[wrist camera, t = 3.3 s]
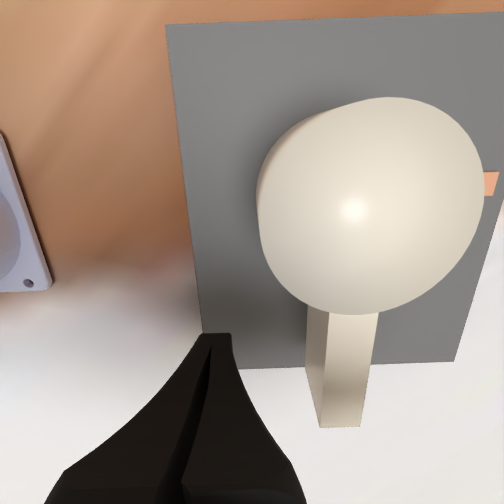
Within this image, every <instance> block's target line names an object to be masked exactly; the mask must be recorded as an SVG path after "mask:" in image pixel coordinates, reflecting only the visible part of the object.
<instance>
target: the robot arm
mask: <svg viewBox="0 0 504 504" xmlns="http://www.w3.org/2000/svg"><path fill="white" fill-rule="evenodd" d="M29 279H30V280H31V281H32V282H33V283H34V284H32V283H31V282H30V281H29ZM51 284H52V279H51V276H50V273H49V270H48V267H47V264H46V261H45V258H44V255H43V252H42V249H41V247H40V244H39V241H38V238H37V235H36V232H35V229H34V226H33V223H32V220H31V217H30V214H29V212H28V209H27V206H26V203H25V200H24V197H23V194H22V191H21V188H20V185H19V182H18V179H17V177H16V174H15V171H14V168H13V165H12V162H11V159H10V156H9V153H8V150H7V147H6V144H5V142H4V139H3V137H2V135H1V134H0V292H25V291H43V290H46V289H47V288H48V287H50V286H51ZM44 504H307V503H306V499H305V496H304V493H303V490H302V487H301V485H300V482H299V480H298V478H297V475H296V473H295V471H294V468H293V466H292V464H291V462H290V460H289V459H288V458H287V457H286V455H285V454H284V453H283V451H282V450H281V449H280V447H279V446H278V445H277V443H276V442H275V440H274V439H273V437H272V436H271V434H270V433H269V431H268V430H267V428H266V426H265V425H264V423H263V421H262V420H261V418H260V417H259V415H258V413H257V411H256V410H255V408H254V406H253V404H252V402H251V400H250V398H249V396H248V394H247V391H246V389H245V387H244V385H243V382H242V379H241V377H240V374H239V371H238V368H237V365H236V362H235V359H234V355H233V346H232V335H231V334H230V333H202V334H200V335H199V337H198V339H197V340H196V342H195V344H194V345H193V347H192V348H191V350H190V351H189V353H188V354H187V356H186V357H185V359H184V360H183V361H182V363H181V364H180V366H179V367H178V368H177V370H176V371H175V372H174V373H173V375H172V376H171V377H170V378H169V380H168V381H167V382H166V383H165V385H164V386H163V387H162V388H161V389H160V390H159V392H158V393H157V394H156V395H155V396H154V397H153V398H152V399H151V400H150V401H149V402H148V403H147V404H146V405H145V406H144V407H143V408H142V409H141V410H140V411H139V412H138V413H137V414H136V415H135V416H134V417H133V418H132V419H131V420H130V421H129V422H128V423H126V424H125V425H124V426H123V427H122V428H121V429H119V430H118V431H117V432H116V433H115V434H113V435H112V436H111V437H110V438H109V439H107V440H106V441H105V442H104V443H102V444H101V445H100V446H98V447H97V448H96V449H95V450H93V451H92V452H90V453H89V454H87V455H86V456H85V457H83V458H82V459H80V460H79V461H78V462H76V463H75V464H73V465H72V466H71V467H69V468H68V469H66V470H65V471H64V472H63V473H62V475H61V477H60V478H59V480H58V481H57V483H56V484H55V486H54V487H53V489H52V491H51V492H50V494H49V496H48V497H47V499H46V501H45V503H44Z"/></svg>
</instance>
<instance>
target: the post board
mask: <svg viewBox="0 0 504 504" xmlns="http://www.w3.org/2000/svg"><path fill="white" fill-rule="evenodd" d="M165 29H166V37H167V45H168V53H169V61H170V69H171V77H172V85H173V93H174V102H175V110H176V118H177V126H178V134H179V142H180V150H181V158H182V167H183V175H184V183H185V191H186V199H187V207H188V215H189V223H190V232H191V240H192V248H193V256H194V264H195V272H196V280H197V288H198V297H199V305H200V313H201V321H202V329H203V333H230V334H231V335H232V346H233V355H234V359H235V362H236V365H237V368H238V369H263V368H290V367H305V353H306V332H307V311H308V304H306V303H304V302H302V301H300V300H299V299H298V298H296V297H295V296H294V295H292V294H291V293H290V292H289V291H288V290H287V289H286V288H285V287H283V286H282V285H281V283H280V282H279V281H278V279H277V278H276V277H275V275H274V274H273V272H272V270H271V269H270V267H269V265H268V263H267V260H266V258H265V255H264V253H263V248H262V244H261V240H260V232H259V223H258V215H257V206H256V186H257V180H258V176H259V172H260V169H261V166H262V164H263V162H264V160H265V157H266V156H267V154H268V152H269V151H270V149H271V148H272V146H273V145H274V144H275V143H276V141H277V140H278V139H279V138H280V137H281V136H282V135H283V134H284V133H285V132H286V131H287V130H289V129H290V128H291V127H292V126H294V125H295V124H297V123H298V122H300V121H302V120H304V119H305V118H308V117H310V116H313V115H315V114H318V113H321V112H325V111H328V110H331V109H335V108H338V107H341V106H344V105H348V104H351V103H355V102H359V101H363V100H367V99H373V98H382V97H398V98H407V99H412V100H417V101H421V102H423V103H426V104H429V105H432V106H434V107H436V108H438V109H439V110H441V111H443V112H444V113H446V114H448V115H449V116H450V117H451V118H452V119H454V120H455V121H456V122H457V123H458V124H459V125H460V126H461V127H462V128H463V129H464V131H465V132H466V133H467V134H468V135H469V137H470V139H471V141H472V142H473V144H474V146H475V147H476V150H477V152H478V155H479V158H480V160H481V164H482V169H483V174H484V187H485V192H484V204H483V209H482V213H481V218H480V221H479V224H478V227H477V230H476V232H475V234H474V236H473V238H472V241H471V243H470V245H469V246H468V248H467V249H466V251H465V253H464V254H463V256H462V257H461V259H460V260H459V261H458V262H457V264H456V265H455V266H454V267H453V269H452V270H451V271H450V272H449V273H448V274H447V275H446V276H445V277H444V278H443V279H442V280H441V281H439V282H438V283H437V284H436V285H435V286H433V287H432V288H431V289H429V290H428V291H426V292H425V293H424V294H422V295H421V296H419V297H417V298H415V299H413V300H411V301H410V302H408V303H405V304H403V305H401V306H398V307H396V308H393V309H389V310H386V311H383V312H379V314H378V320H377V326H376V333H375V339H374V345H373V351H372V357H371V363H370V365H373V364H400V363H428V362H454V359H455V356H456V353H457V349H458V346H459V343H460V339H461V336H462V333H463V330H464V326H465V323H466V320H467V317H468V313H469V310H470V307H471V303H472V300H473V297H474V294H475V290H476V287H477V284H478V281H479V277H480V274H481V271H482V268H483V264H484V261H485V258H486V254H487V251H488V248H489V245H490V241H491V238H492V235H493V232H494V228H495V225H496V222H497V218H498V215H499V212H500V209H501V205H502V202H503V199H504V12H488V13H461V14H435V15H408V16H381V17H355V18H328V19H301V20H275V21H248V22H221V23H195V24H168V25H165Z"/></svg>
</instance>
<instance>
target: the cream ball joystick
mask: <svg viewBox="0 0 504 504" xmlns="http://www.w3.org/2000/svg"><path fill="white" fill-rule="evenodd" d="M484 192H485V187H484V174H483V169H482V164H481V160H480V158H479V155H478V152H477V150H476V147H475V146H474V144H473V142H472V141H471V139H470V137H469V135H468V134H467V133H466V132H465V131H464V129H463V128H462V127H461V126H460V125H459V124H458V123H457V122H456V121H455V120H454V119H452V118H451V117H450V116H449V115H448V114H446V113H444V112H443V111H441V110H439V109H438V108H436V107H434V106H432V105H429V104H426V103H423V102H421V101H417V100H412V99H407V98H398V97H382V98H373V99H367V100H363V101H359V102H355V103H351V104H348V105H344V106H341V107H338V108H335V109H331V110H328V111H325V112H321V113H318V114H315V115H313V116H310V117H308V118H305V119H304V120H302V121H300V122H298V123H297V124H295V125H294V126H292V127H291V128H290V129H289V130H287V131H286V132H285V133H284V134H283V135H282V136H281V137H280V138H279V139H278V140H277V141H276V143H275V144H274V145H273V146H272V148H271V149H270V151H269V152H268V154H267V156H266V157H265V160H264V162H263V164H262V166H261V169H260V172H259V176H258V180H257V186H256V206H257V215H258V223H259V232H260V240H261V244H262V248H263V253H264V255H265V258H266V260H267V263H268V265H269V267H270V269H271V270H272V272H273V274H274V275H275V277H276V278H277V279H278V281H279V282H280V283H281V285H282V286H283V287H285V288H286V289H287V290H288V291H289V292H290V293H291V294H292V295H294V296H295V297H296V298H298V299H299V300H300V301H302V302H304V303H306V304H308V311H307V332H306V353H305V370H306V374H307V378H308V382H309V386H310V390H311V394H312V398H313V402H314V406H315V410H316V414H317V419H318V423H319V427H320V428H334V427H360V425H361V419H362V413H363V407H364V400H365V394H366V388H367V382H368V376H369V370H370V363H371V357H372V351H373V345H374V339H375V333H376V326H377V320H378V314H379V312H383V311H386V310H389V309H393V308H396V307H398V306H401V305H403V304H405V303H408V302H410V301H411V300H413V299H415V298H417V297H419V296H421V295H422V294H424V293H425V292H426V291H428V290H429V289H431V288H432V287H433V286H435V285H436V284H437V283H438V282H439V281H441V280H442V279H443V278H444V277H445V276H446V275H447V274H448V273H449V272H450V271H451V270H452V269H453V267H454V266H455V265H456V264H457V262H458V261H459V260H460V259H461V257H462V256H463V254H464V253H465V251H466V249H467V248H468V246H469V245H470V243H471V241H472V238H473V236H474V234H475V232H476V230H477V227H478V224H479V221H480V218H481V213H482V209H483V204H484Z"/></svg>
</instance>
